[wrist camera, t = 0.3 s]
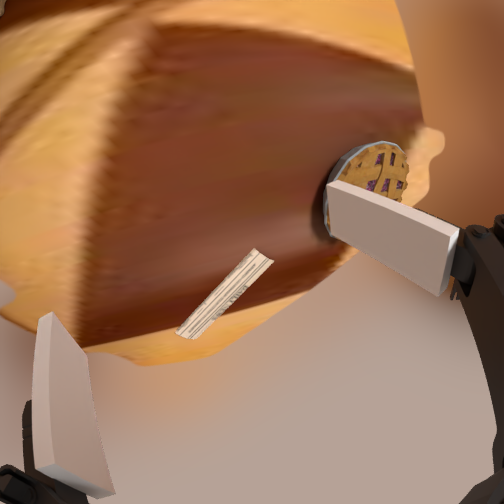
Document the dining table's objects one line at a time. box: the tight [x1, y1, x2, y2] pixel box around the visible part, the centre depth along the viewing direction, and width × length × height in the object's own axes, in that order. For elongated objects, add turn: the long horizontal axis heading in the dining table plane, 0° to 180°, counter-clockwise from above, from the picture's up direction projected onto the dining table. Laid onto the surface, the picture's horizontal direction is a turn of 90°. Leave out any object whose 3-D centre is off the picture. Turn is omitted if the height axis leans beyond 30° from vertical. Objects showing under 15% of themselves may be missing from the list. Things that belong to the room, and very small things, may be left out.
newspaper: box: [175, 248, 274, 339], centre depth 57 cm, size 24×7×2 cm, turn 132°
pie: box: [323, 141, 409, 241], centre depth 53 cm, size 22×22×5 cm
